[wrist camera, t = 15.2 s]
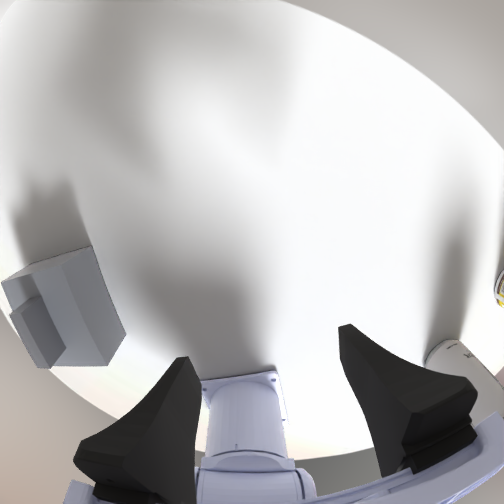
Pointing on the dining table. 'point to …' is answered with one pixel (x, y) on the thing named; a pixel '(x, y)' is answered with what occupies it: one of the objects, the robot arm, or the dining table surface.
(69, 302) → the grey stepped block
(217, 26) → the dining table surface
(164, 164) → the dining table surface
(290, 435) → the dining table surface
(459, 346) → the energy drink can
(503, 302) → the supplement bottle
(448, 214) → the dining table surface
